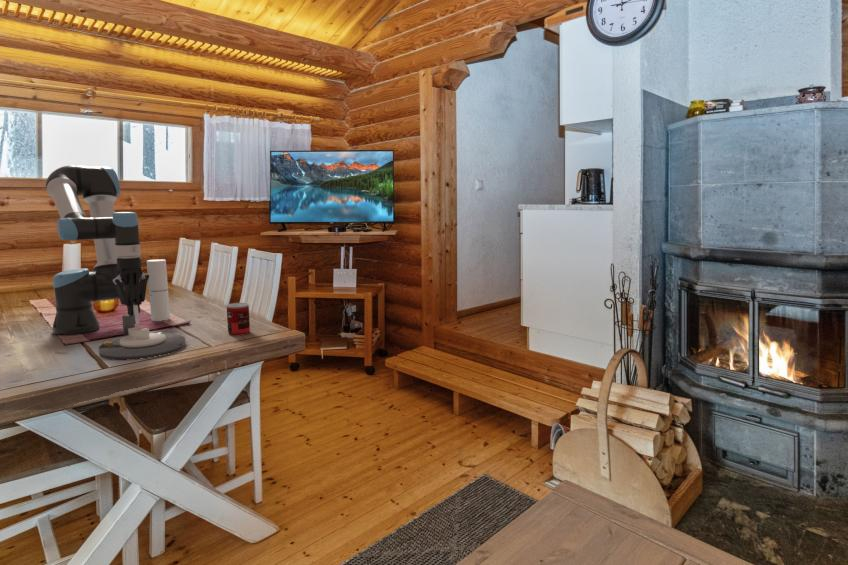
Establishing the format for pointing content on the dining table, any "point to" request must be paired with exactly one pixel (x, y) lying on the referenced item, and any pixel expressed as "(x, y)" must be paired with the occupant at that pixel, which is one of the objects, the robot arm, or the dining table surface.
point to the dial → (138, 335)
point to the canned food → (238, 318)
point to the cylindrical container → (158, 289)
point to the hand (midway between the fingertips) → (135, 322)
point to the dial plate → (141, 348)
